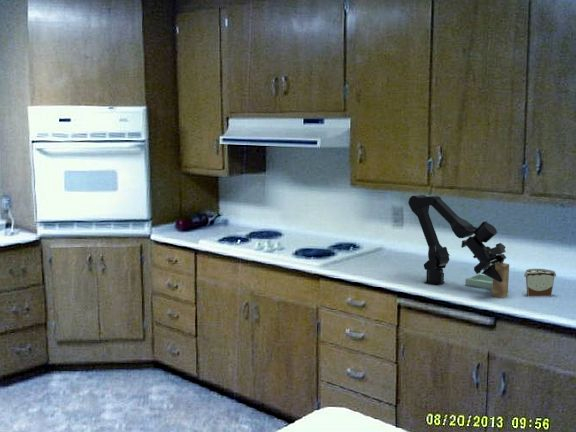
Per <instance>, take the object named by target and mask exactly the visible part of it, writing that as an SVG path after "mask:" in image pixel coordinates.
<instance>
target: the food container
mask: <svg viewBox="0 0 576 432" xmlns="http://www.w3.org/2000/svg"><path fill="white" fill-rule="evenodd" d="M523 275H524V277H525V281H526V282H525V284H526V296H527V297H529V298H531V297H536V298H537V297H552V293H553V289H554V283H555V282H554V281H555V278H556V277H557V273H556V271H554V270H552V269H545V268H528V269H526V270H525V272H524V274H523Z"/></svg>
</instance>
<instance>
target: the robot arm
mask: <svg viewBox="0 0 576 432" xmlns="http://www.w3.org/2000/svg"><path fill="white" fill-rule="evenodd" d="M407 202H408V203H407V204H408V206H409V208H410V210H411V212H412V213H414V215H415V216H416V217H417V219H418V222H419V225H420V227H421V230H422V232H423V235H424V239H425V242H426V244H427V246H428V247H427V248H428V249H427V250H428V253H427V257H428V260H426V261H425V263H424V264H423V268H424V270H426V279H425V281H424V282H423V283H425V284H429V285H434V286H438V285H443V284H444V283H445V273H444V269H446V267H447V265H448V263H449V261H450V256H451V255H450V253H449V252H448V248H447V247H446V246H442V245H441V244H440V241H439V239H438V235H437V232H436V230H435V227H434V225H433V222H432V218H431V215H430V213H429V212H430V211H429V210H430V206H431V207H432V208H433V209H435V211H436V212H437V213H438V214H439V215H440V216H441V218H443V219H444V220H445V221H446V222H447V223H448V224H449V226H450V228H451V232H452V233H454V235H455V236H456V237H457V238H458V239H464V240H462V241H461V248H465V247H467V248H468V249H469V251H470V252H471V253H472V254H473V256H472V257H473V259H476V260H477V261H478V262H479V263H477V264H476V265H475V266H474V267H473V271H474V272H475V275H476V274H480V273H481V274H482V275H487V276H489V277H491V278H493V279H495V280H497V281H499V282H502V279H501V277H500V275H499V274H498V272H497V271H496V269H495V263H498V262H499V263H505V260H506V259H507V256H506V255H505V254H504V253H506V252H507V251H506V250H505V249H506V246H505V245H504V244H503V243H502V242H500V243H496V244H495V247H492V248H491V247H490V246H486V245H485V244H484V243H488V242H489V241H490V240H492V238H493V237H494V236H495V235H497V234H498V231H497V229H496V227H495V226H494V225H492V224H490V223H488V222H487V221H486V220H485V221H482V223H480V225H478V227H476V226H474V225H473V224H472V223H470V222H469V221H468V220H466V219H464V218H461V217H460V216H459V215H457V214H456V212H455V211H454V210H452V208H451V207H450V206H449V205H448V204H446V202H445V201H443V199H442V197H441V196H439V195H432V196H431V195H430V196H426V195H424V194H417V195H416V194H415V195H412V196H410V197H409V198H408V201H407ZM465 238H467V239H465Z"/></svg>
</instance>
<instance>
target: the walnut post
mask: <svg viewBox="0 0 576 432" xmlns="http://www.w3.org/2000/svg"><path fill="white" fill-rule="evenodd" d="M495 269H496V271H497V272H498V274H499V275H500V277H501V279H502V282H499V281H497V280H495V279H493V288H492V290H491V292H492V293H491V297H495V298H499V299H504V298H507V297H508V296H509V278H510V277H509V276H510V263H507V262H506V263H505V262H503V263H499V262H498V263H495Z"/></svg>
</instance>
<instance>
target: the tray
mask: <svg viewBox="0 0 576 432" xmlns="http://www.w3.org/2000/svg"><path fill="white" fill-rule="evenodd" d="M464 283H465V287H469V288H470V287H472V288H477V289H481V290H488V291H492V288H493V278H491V277H489V276H487V275H485V274H482V273H481V274H480V273H479V274H476V273H475V274H474V275H471V276H469V277H466V278H465V282H464Z"/></svg>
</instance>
